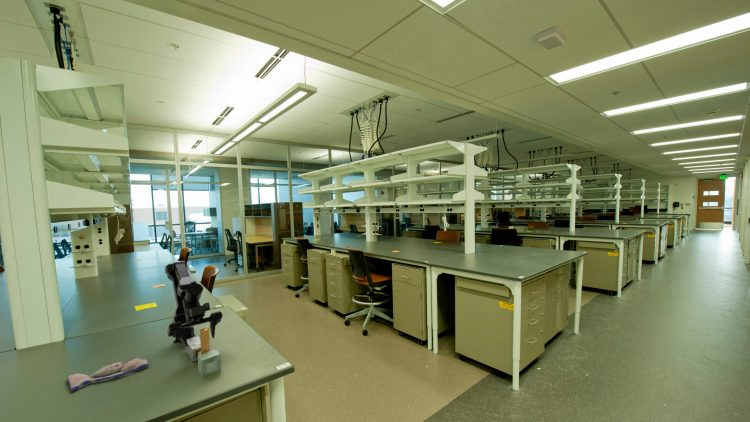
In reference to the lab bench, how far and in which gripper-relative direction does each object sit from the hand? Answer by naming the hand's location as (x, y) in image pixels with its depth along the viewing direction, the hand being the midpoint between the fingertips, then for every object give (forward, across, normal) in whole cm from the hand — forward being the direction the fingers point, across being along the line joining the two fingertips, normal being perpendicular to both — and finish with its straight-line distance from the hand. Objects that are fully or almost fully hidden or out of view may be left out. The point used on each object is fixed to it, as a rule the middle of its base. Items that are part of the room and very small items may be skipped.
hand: (200, 342), depth 111 cm
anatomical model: (-6, -26, +17) cm, 31 cm away
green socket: (+13, 0, -3) cm, 13 cm away
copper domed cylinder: (+7, 0, +2) cm, 7 cm away
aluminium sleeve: (0, 0, +10) cm, 10 cm away
